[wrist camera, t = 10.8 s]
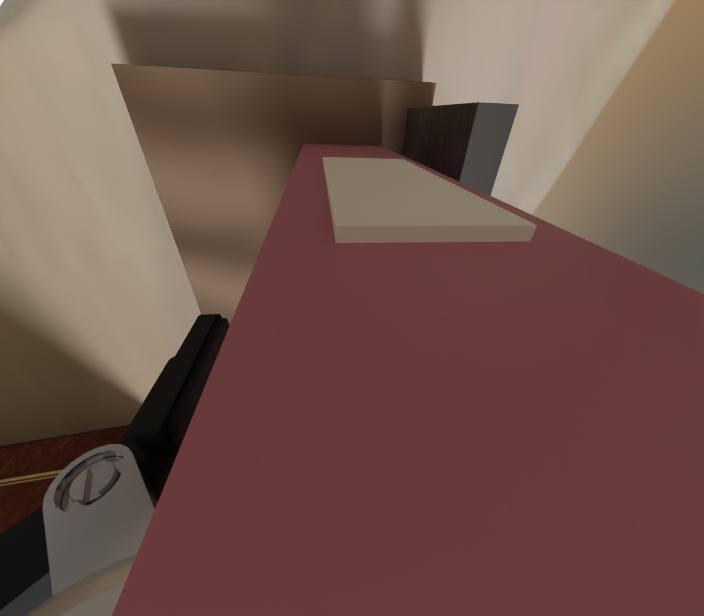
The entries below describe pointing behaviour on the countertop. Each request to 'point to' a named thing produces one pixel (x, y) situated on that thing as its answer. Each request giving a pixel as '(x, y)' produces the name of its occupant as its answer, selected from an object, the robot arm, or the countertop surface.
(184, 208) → the shelf board
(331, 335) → the slim book
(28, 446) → the decorative book
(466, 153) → the bookend
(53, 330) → the countertop surface
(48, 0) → the countertop surface
